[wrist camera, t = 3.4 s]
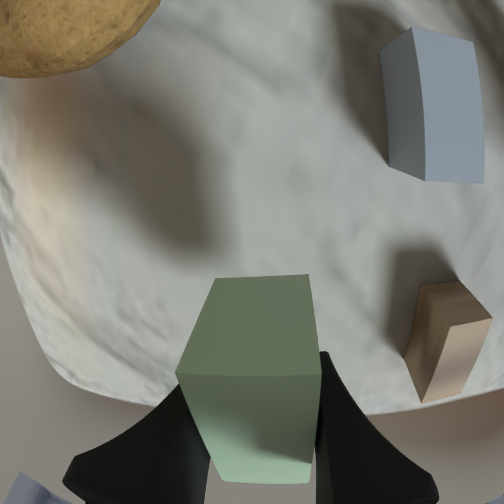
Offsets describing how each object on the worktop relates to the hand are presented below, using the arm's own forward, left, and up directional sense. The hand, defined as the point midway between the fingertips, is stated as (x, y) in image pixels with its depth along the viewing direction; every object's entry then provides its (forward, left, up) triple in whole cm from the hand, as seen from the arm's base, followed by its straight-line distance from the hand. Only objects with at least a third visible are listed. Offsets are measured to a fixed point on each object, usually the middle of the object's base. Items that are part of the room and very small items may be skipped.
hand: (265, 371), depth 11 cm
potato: (+10, -19, -9) cm, 23 cm away
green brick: (0, 0, -2) cm, 2 cm away
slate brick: (-9, -10, -8) cm, 16 cm away
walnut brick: (-12, +5, -8) cm, 15 cm away
